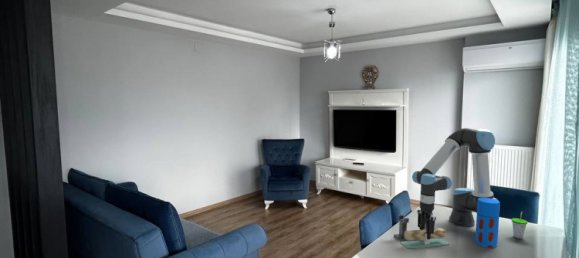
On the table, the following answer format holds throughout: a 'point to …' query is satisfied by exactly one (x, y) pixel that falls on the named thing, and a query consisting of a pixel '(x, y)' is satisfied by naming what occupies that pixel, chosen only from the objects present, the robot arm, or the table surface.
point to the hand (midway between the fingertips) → (424, 242)
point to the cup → (519, 227)
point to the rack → (402, 228)
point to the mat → (422, 243)
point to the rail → (423, 234)
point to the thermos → (487, 222)
